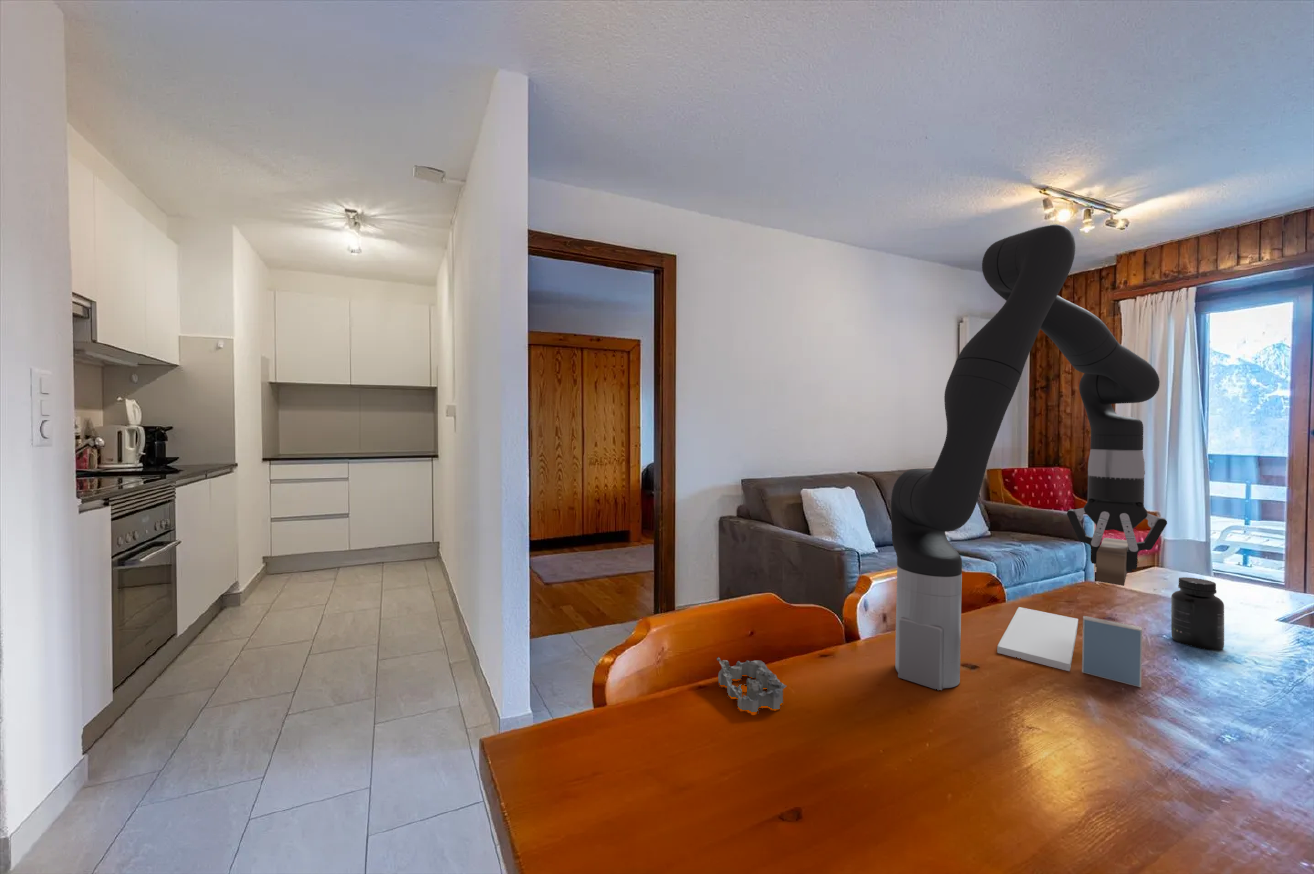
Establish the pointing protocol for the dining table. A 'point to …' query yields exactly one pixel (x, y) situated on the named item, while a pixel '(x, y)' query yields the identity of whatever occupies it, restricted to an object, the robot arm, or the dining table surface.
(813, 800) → the dining table surface
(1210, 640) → the supplement bottle
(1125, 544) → the brown wooden block
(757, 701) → the cookie cutter
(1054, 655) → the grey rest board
